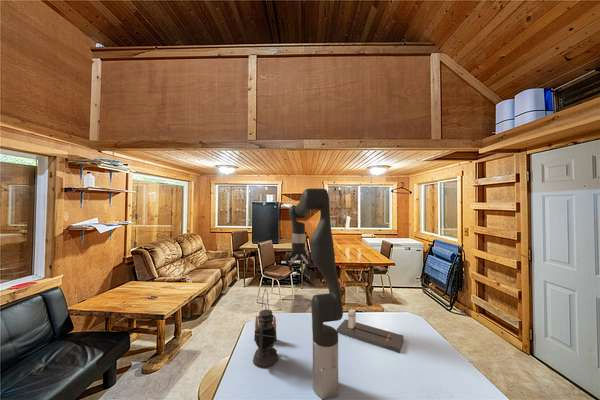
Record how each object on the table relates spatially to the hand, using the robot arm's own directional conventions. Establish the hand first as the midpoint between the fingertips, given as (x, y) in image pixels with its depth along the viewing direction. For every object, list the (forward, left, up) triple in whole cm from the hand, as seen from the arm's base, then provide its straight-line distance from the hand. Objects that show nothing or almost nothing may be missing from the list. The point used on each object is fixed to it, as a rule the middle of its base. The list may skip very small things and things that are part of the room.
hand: (298, 270), depth 128 cm
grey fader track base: (-19, -32, -29) cm, 47 cm away
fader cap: (-13, -26, -27) cm, 39 cm away
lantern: (-25, +20, -30) cm, 43 cm away
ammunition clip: (-11, +19, -30) cm, 37 cm away
